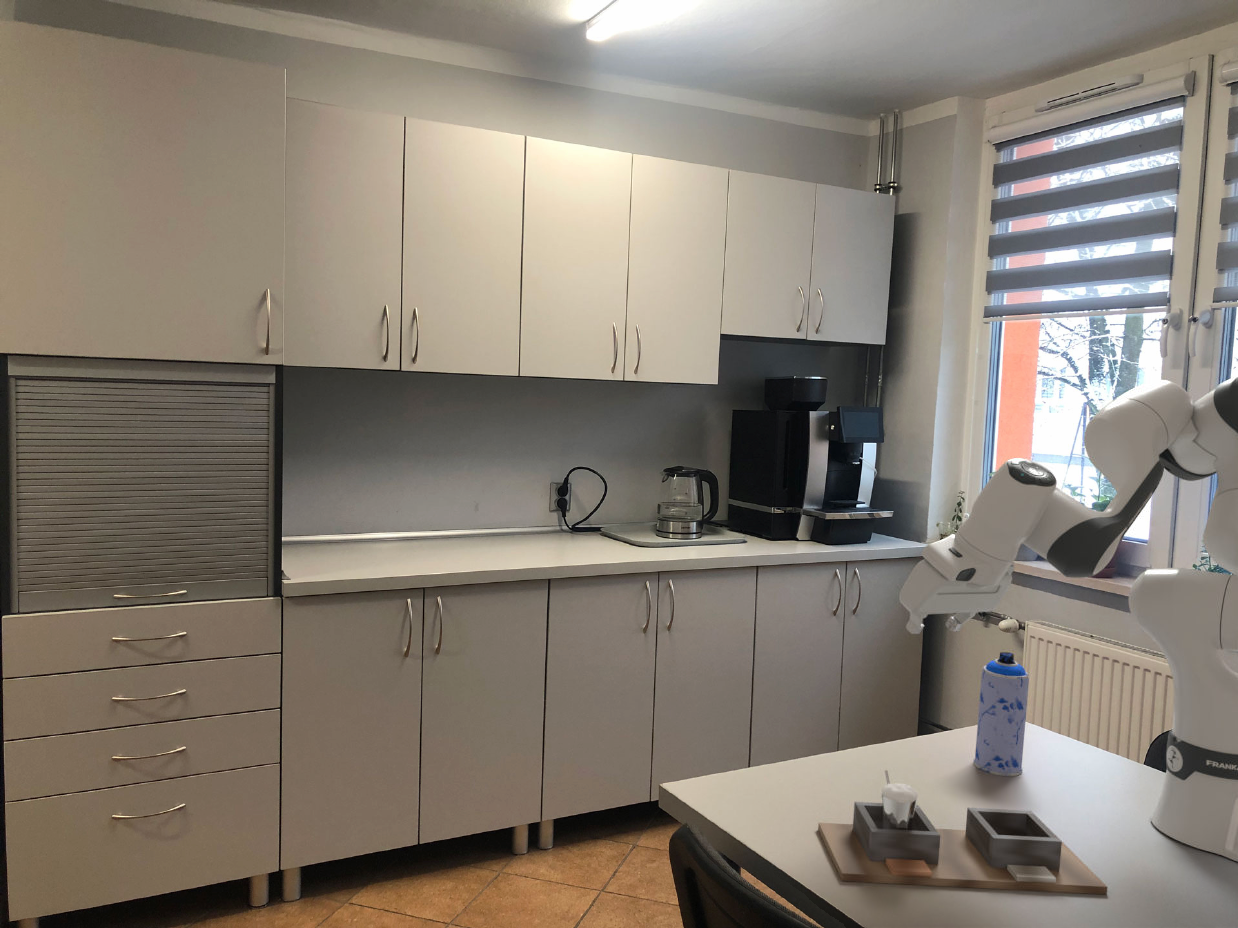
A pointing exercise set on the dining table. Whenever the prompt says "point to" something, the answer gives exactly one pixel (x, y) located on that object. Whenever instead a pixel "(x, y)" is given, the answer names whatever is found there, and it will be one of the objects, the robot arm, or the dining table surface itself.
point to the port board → (958, 852)
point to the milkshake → (898, 805)
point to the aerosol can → (1002, 717)
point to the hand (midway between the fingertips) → (931, 629)
